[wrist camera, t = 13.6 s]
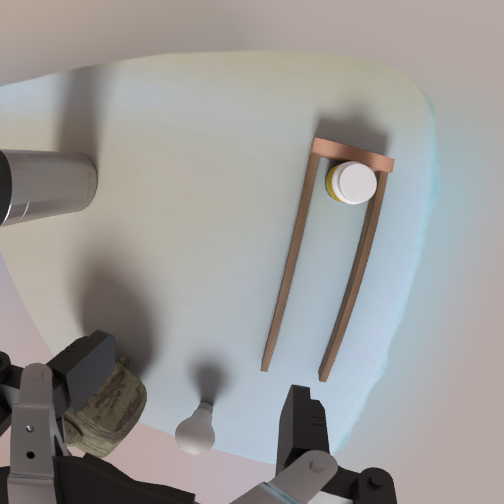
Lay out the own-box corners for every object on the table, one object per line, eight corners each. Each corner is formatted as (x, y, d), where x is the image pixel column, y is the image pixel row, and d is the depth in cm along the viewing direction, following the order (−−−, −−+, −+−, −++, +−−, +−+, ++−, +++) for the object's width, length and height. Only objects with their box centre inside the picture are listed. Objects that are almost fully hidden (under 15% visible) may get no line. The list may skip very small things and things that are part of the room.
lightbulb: (219, 391, 45) (203, 438, 34) (227, 417, 46) (214, 462, 35) (185, 391, 46) (164, 435, 35) (195, 416, 47) (177, 459, 36)
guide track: (261, 361, 43) (259, 376, 39) (312, 142, 35) (315, 137, 31) (324, 372, 42) (326, 388, 38) (384, 161, 35) (394, 159, 31)
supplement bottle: (333, 207, 37) (346, 213, 29) (318, 173, 36) (327, 170, 28) (366, 192, 36) (387, 195, 28) (351, 159, 35) (368, 152, 27)
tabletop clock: (85, 353, 47) (2, 430, 23) (100, 323, 45) (2, 404, 21) (145, 401, 48) (83, 499, 23) (166, 376, 45) (98, 487, 21)
